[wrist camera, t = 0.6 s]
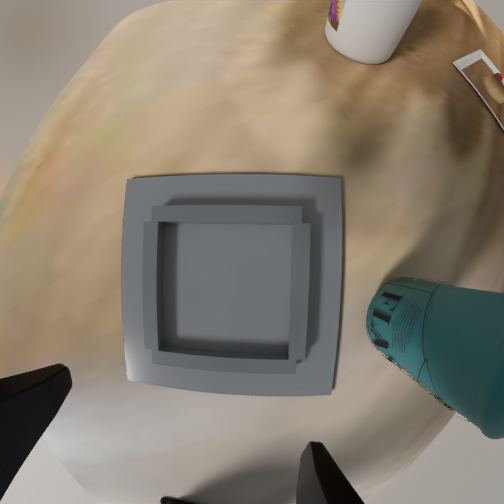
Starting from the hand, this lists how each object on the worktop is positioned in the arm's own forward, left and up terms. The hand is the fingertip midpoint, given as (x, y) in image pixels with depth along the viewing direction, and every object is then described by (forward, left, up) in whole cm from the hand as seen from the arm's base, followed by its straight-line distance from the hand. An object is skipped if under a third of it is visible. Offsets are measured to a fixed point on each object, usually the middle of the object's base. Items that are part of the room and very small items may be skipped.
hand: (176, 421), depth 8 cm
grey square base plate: (+3, 0, -14) cm, 14 cm away
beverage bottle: (+1, -14, -14) cm, 20 cm away
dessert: (+29, -35, -15) cm, 47 cm away
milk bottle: (+29, -13, -14) cm, 35 cm away
